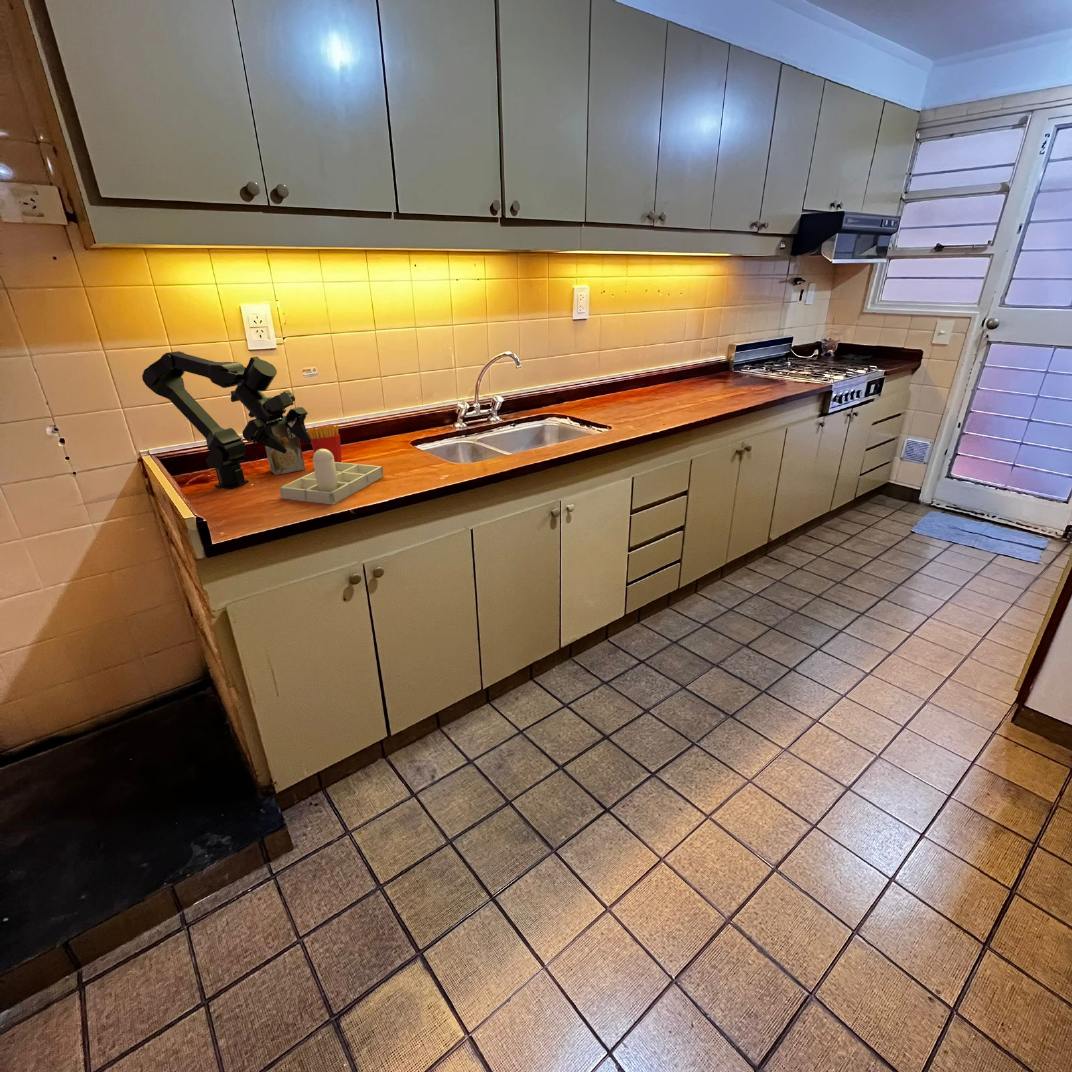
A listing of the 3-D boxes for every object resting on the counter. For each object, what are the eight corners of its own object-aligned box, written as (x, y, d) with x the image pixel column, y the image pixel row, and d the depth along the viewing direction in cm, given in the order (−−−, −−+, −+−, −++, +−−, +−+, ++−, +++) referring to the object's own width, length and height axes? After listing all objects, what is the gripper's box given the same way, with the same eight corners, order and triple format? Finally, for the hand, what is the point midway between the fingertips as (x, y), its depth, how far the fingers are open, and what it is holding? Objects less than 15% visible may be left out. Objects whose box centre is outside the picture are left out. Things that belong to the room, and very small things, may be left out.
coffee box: (300, 465, 180) (290, 414, 173) (305, 469, 175) (296, 418, 168) (269, 470, 175) (258, 418, 168) (274, 475, 170) (263, 422, 163)
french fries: (342, 462, 182) (335, 422, 176) (345, 465, 178) (339, 424, 173) (312, 467, 177) (305, 426, 172) (315, 470, 174) (308, 428, 169)
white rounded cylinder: (317, 498, 149) (309, 452, 144) (321, 492, 154) (313, 446, 149) (337, 497, 150) (330, 451, 145) (340, 491, 154) (334, 446, 149)
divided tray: (281, 498, 152) (279, 487, 151) (336, 471, 173) (335, 461, 171) (333, 504, 147) (331, 493, 146) (383, 476, 168) (382, 466, 167)
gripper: (240, 387, 136) (286, 436, 137) (295, 376, 152) (335, 420, 153) (223, 418, 141) (267, 464, 143) (278, 404, 157) (316, 446, 159)
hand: (298, 447), depth 149 cm, fingers open, 9 cm apart
